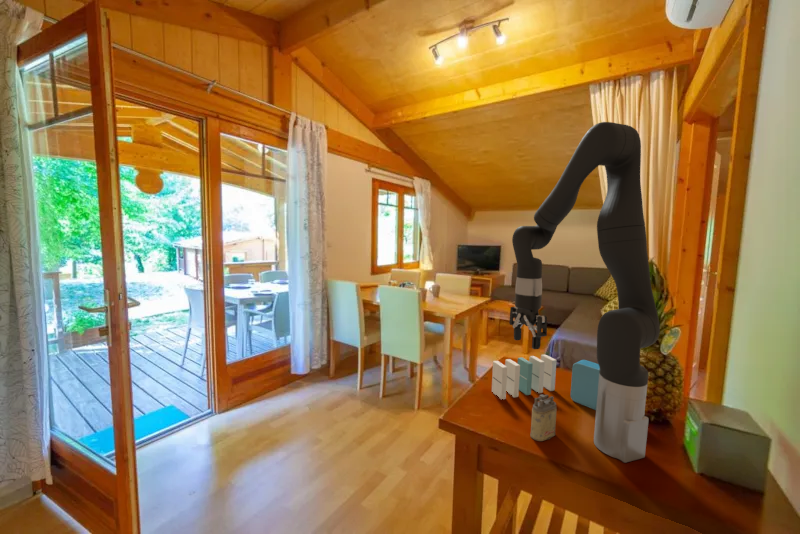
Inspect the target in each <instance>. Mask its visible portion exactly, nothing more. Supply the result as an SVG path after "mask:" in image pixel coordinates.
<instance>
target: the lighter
mask: <svg viewBox="0 0 800 534" xmlns="http://www.w3.org/2000/svg"><path fill="white" fill-rule="evenodd" d="M554 399H555V397H554V396H552V395H551V396H549V394H542V393H540V394H539V396H538V397H534V403H533V404H532V408H531V422H530V423H531V424H530V425H531V426H530V438H531V439H532V440H534V441H537V442H543V441H546V440H551V438H553V437H554V436H556V423H557V422H556V421H557V408H558V407H557V403H556V402H555V401H554Z"/></svg>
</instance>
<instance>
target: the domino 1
mask: <svg viewBox="0 0 800 534" xmlns="http://www.w3.org/2000/svg"><path fill="white" fill-rule="evenodd" d="M491 375H492V377H491V378H492V379H491V393H492V392H493V393H492V394H494V395H495V396H496V395H497V396H498V397H499V398H498V397H497V396H496V397H497V398H498V399H500V400H502V399H503V400H506V399H507V397H506V396H507V392H506V384H507V366H505V363H504V364H503V363H502V362H501V361H499V360H493V361H492V374H491Z"/></svg>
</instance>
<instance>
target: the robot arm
mask: <svg viewBox="0 0 800 534" xmlns="http://www.w3.org/2000/svg"><path fill="white" fill-rule="evenodd" d="M641 143H642V141H641V137H640V134H639V132H638V131H637V129H635V128H634V127H633V126H631V125H628V124H623V123H617V122H611V121H601V122H598V123H596V124H594V125H592V127H590V128H589V129H588V130H587V132H586V133H585V134H584V135H583V137H582V138H581V140H580V142H579V144H578V145H577V147H576V148H575V150H574V153H572V156H571V158H570V160H569V162H568V163H567V164H566V166H565V168H564V171H563V172H562V173H561V176H560V178H559V180H558V181H557V183H556V184H555V186H554V187H553V189H552V190H551V192H550V193H549V195H548V196H547V197H546V198H545V199H544V201H543V202H542V204H540V205H539V208H538V209H536V211H535V213H534V215H533V221H534V222H535V224H536V225H521V226H518V227H517V228H516V229H515V230H514V232H513V234H512V238H511V239H512V240H511V241H512V247H513V252H514V256H515V259H516V260H515V261H516V265H517V266H516V281H515V291H514V292H515V293H514V296H515V297H514V306H511V307H510V310H509V321H508V322H509V325H510V326H512V328H513V339H514V341H520V340H521V339H522V327H523V325H524V326H526V327H527V328H528V330H530V332H531V334H532V339H531V340H532V341H531V348H532V349H533V350H539V349H540V348H541V341H542V337H547V335H548V318H547V316H546V315H540V313H539V311H540V309H541V308H542V302H543V301H542V299H543V297H542V296H543V282H542V279H543V276H542V274H543V263H542V260H541V259H540V258H539V257H534V255H533V251H532V250H534V251H535V250H541V249H544V248H545V247H546V246H548V244H550V242H551V241H552V238H553V236H554V234H555V233H556V230H557V228H558V226H559V225H560V223H561V222H563V220H564V219H566V217H567V216H568V215H569V213H571V211H572V210H573V208H574V206H575V204H576V201H577V199H578V195H579V192H580V189H581V187H582V185H583V183H584V181H585V180H586V178H587V177H588V176H589V175H590V174H591V173H592V172H594V170H595V169H596V168H598V167H599V166H602V167H604V169H605V173H606V174H605V175H606V183H607V186H606V187H607V190H606V196H605V199H604V200H603V201H604V202H603V203H602V207H601V209H600V211H599V215H598V218H597V221H596V233H597V242H598V243H597V244H598V250H599V254H600V256H601V259H602V261H603V263H604V265H605V267H606V269H607V270H608V272H609V273H610V275H611V277H612V279H613V281H614V283H615V287H616V291H617V304H618V307H617V308H618V309H611V310H608V311H607V312H605V313H604V314H602V316H601V317H600V318H599V321H598V325H597V332H596V360H597V364H599V367H600V371H599V382H598V394H597V406H596V410H595V420H594V421H595V422H594V433H593V443H594V445H595V447H596V448H597V449H598V450H600V452H602V453H603V454H606V456H610V457H612V458H614V459H618V460H619V461H621V462H622V463H625V464H626V463H629V462H632V461H637V460H640V459H644V458H645V457H646V450H647V449H646V447H647V441H648V439H647V438H648V431H649V428H648V427H649V417H648V416H646V415H645V412H646V411H645V410H646V402H647V394H648V393H647V391H648V382H649V372H648V369H647V368H646V367H645V366H643V365H642V364H640V361H641V359H640V358H641V349H643V348H648V347H650V346H652V345H654V344H655V343H656V342H657V340H658V339H659V337H660V332H661V331H660V330H661V325H660V324H661V323H660V321H659V316H658V310H657V306H656V303H655V299H654V298H655V297H654V293H653V290H652V283H651V272H650V265H649V263H650V262H649V255H648V242H647V229H646V223H645V216H644V207H643V197H642V185H641V162H642V153H641V152H642V144H641Z"/></svg>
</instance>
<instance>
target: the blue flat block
mask: <svg viewBox="0 0 800 534" xmlns="http://www.w3.org/2000/svg"><path fill="white" fill-rule="evenodd" d="M571 368H572V371H571V386H570V399H571V400H572V401H573V402H575V403H577V404H579V405H581V406H585V407H587V408H590V409H592V410H594V411H596V406H597V394H598V382H599V371H600V367H599V364H598V362H597V363H596V362H593V361H590V360H586V359H581V360H579V361H577V362H575V363H573V365H572V367H571Z"/></svg>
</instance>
